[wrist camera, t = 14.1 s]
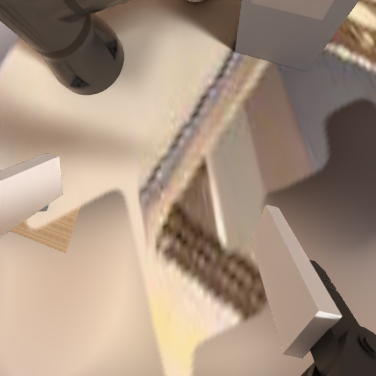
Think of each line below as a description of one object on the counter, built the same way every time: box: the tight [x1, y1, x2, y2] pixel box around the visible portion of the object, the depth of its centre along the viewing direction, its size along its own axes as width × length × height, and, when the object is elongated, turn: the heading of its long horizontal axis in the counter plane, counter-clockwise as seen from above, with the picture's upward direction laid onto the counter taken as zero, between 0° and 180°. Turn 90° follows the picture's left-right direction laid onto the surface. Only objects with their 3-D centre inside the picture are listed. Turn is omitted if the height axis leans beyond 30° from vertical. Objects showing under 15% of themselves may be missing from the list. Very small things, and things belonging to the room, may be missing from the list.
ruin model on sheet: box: [11, 204, 81, 253], centre depth 38 cm, size 25×16×10 cm, turn 73°
